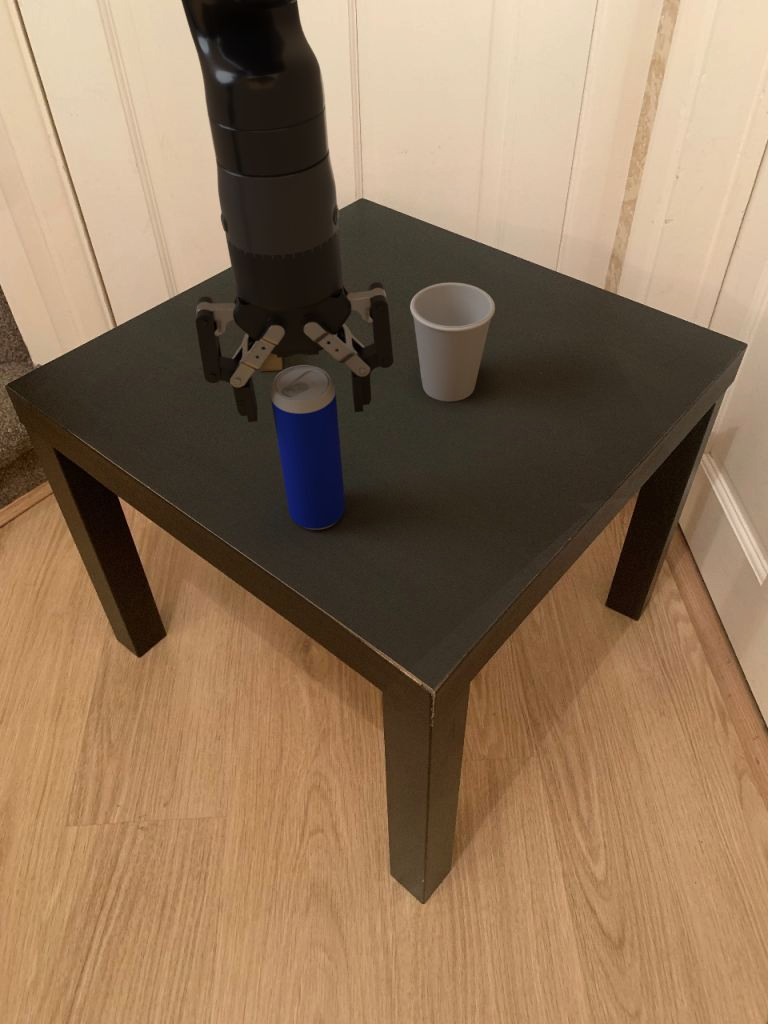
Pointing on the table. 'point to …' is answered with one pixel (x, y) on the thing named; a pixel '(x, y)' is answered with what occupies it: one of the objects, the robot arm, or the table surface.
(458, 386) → the dixie cup
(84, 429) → the table surface
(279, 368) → the stick
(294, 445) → the beverage can
